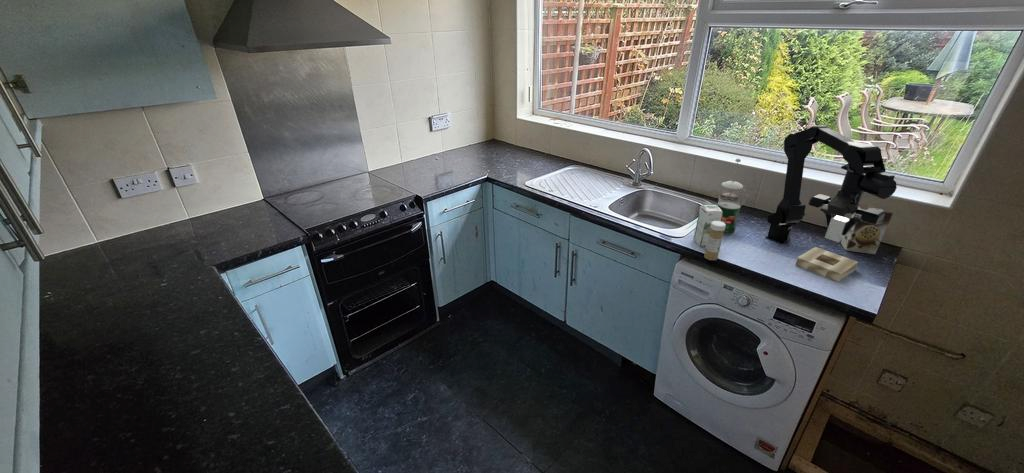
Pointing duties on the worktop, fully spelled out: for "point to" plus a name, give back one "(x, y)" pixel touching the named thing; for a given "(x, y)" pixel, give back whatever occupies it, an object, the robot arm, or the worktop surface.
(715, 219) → the syrup box
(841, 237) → the grey rectangular block
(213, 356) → the worktop surface
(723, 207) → the canned tomato
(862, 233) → the cookie box
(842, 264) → the well block
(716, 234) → the sprinkles bottle
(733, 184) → the french press
